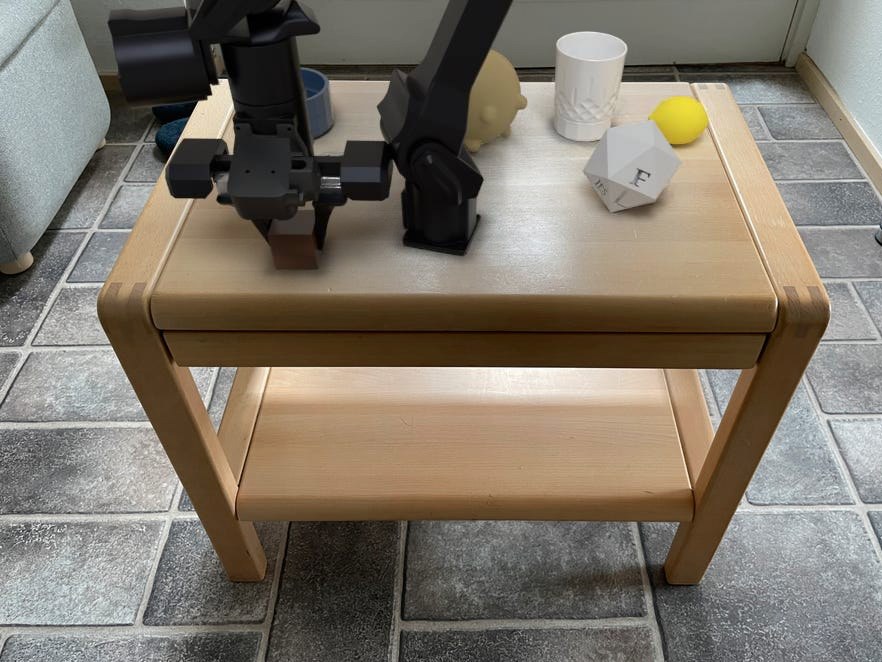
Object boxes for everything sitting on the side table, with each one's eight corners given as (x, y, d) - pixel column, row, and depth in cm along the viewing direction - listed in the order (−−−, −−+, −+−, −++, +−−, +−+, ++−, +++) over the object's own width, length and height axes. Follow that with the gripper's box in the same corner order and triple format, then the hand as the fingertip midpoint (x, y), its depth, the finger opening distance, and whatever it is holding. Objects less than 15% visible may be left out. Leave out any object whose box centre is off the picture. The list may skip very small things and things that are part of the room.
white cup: (622, 142, 88) (636, 58, 81) (557, 147, 87) (566, 62, 80) (604, 111, 93) (615, 29, 86) (542, 115, 92) (549, 33, 85)
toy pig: (498, 151, 93) (457, 74, 92) (553, 105, 83) (507, 18, 82) (438, 177, 88) (394, 95, 87) (489, 131, 78) (439, 38, 77)
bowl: (346, 112, 92) (341, 72, 88) (314, 150, 85) (308, 109, 82) (274, 101, 94) (267, 62, 90) (238, 138, 87) (228, 97, 84)
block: (324, 244, 73) (318, 209, 70) (318, 269, 70) (311, 234, 67) (283, 243, 73) (275, 209, 70) (275, 269, 70) (267, 234, 67)
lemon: (702, 132, 90) (712, 89, 86) (705, 155, 86) (716, 111, 82) (643, 128, 90) (651, 85, 86) (644, 150, 87) (652, 106, 83)
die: (564, 206, 79) (602, 168, 70) (587, 134, 82) (627, 88, 72) (635, 236, 81) (681, 203, 71) (656, 165, 83) (703, 123, 73)
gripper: (116, 139, 54) (175, 302, 65) (374, 142, 54) (389, 304, 65) (162, 71, 62) (208, 227, 73) (387, 74, 62) (399, 230, 73)
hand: (298, 247), depth 71 cm, fingers closed on block, 4 cm apart
